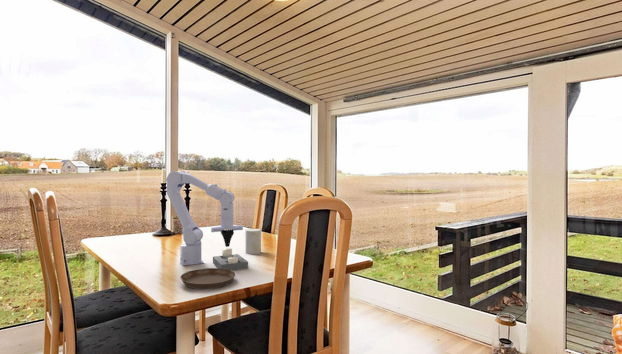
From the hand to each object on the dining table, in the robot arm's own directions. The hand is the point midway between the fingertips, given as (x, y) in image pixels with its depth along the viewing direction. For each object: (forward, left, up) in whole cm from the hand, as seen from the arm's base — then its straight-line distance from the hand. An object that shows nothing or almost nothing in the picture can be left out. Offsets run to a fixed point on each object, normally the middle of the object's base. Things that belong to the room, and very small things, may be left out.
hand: (227, 246), depth 174 cm
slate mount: (0, -5, -8) cm, 9 cm away
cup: (+18, +16, -8) cm, 25 cm away
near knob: (0, -10, -7) cm, 12 cm away
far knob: (0, 0, -5) cm, 5 cm away
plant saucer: (-14, -26, -8) cm, 31 cm away
